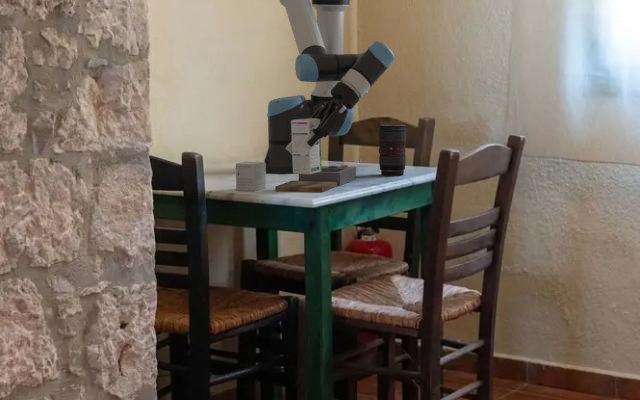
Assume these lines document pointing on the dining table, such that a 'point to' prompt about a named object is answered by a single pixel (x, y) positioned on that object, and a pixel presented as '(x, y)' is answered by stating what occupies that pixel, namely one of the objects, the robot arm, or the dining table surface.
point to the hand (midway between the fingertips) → (294, 152)
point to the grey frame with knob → (332, 174)
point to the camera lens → (392, 149)
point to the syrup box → (299, 134)
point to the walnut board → (306, 186)
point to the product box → (250, 176)
